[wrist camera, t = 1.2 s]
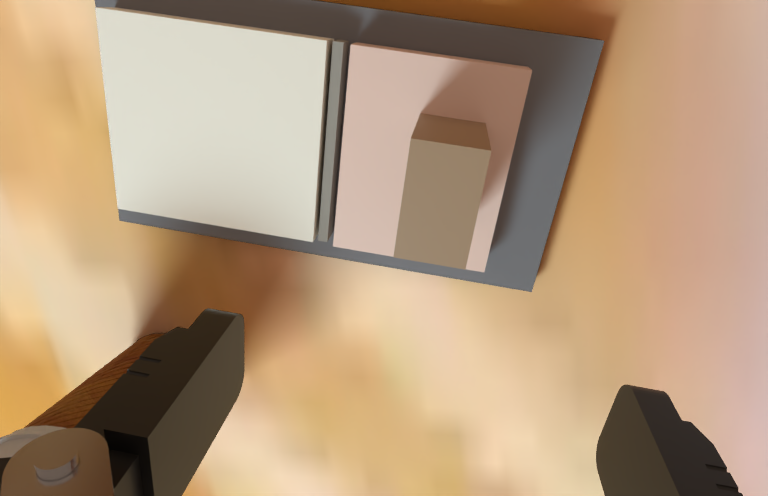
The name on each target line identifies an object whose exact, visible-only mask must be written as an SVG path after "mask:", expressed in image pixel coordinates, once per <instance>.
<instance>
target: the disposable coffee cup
mask: <svg viewBox="0 0 768 496" xmlns="http://www.w3.org/2000/svg"><path fill="white" fill-rule="evenodd" d="M162 335H164V334H151V335H148V336H145V337H143V338H141V339H139V340H138V341H137V342H136V343H134V344H133V345H132V346H130V347H129V348H128V349H126V350H125V351H124V352H122V353H121V354H119V355H118V356H117V357H116V358H114V359H113V360H112V361H111V362H109V363H108V364H106V365H105V366H104V367H103V368H101V369H100V370H98V371H97V372H96V373H94V374H93V375H92V376H91V377H89V378H88V379H87V380H85V381H84V382H83V383H82V384H81V385H79V386H78V387H77V388H75V389H74V390H73V391H71V392H70V393H69V394H67V395H66V396H65V397H64V398H62V399H61V400H60V401H58V402H57V403H56V404H54V405H53V406H52V407H51V408H49V409H48V410H46V411H45V412H44V413H43V414H41V415H40V416H39V417H37V418H36V419H35V420H34V421H32V422H31V423H29V424H28V425H27V426H26V427H25V428H23V429H20V430H17V431H15V432H13V433H12V434H10V435H6V436H3V437H1V438H0V458H6V457H12V456H13V455H14V454H15V453H16V452H17V451H18V450H20V449H21V448H22V447H23V446H25V445H26V444H28V443H29V442H31V441H32V440H34V439H36V438H38V437H40V436H42V435H45V434H47V433H50V432H53V431H57V430H61V429H67V428H74V427H75V426H76V425H77V424H78V423H79V422H80V420H81V419H82V418H83V417H84V416H85V415H86V414H87V413H88V412H89V411H90V410H91V409H92V407H93V406H94V405H95V404H96V403H97V402H98V401H99V400H100V399H101V398H102V397H103V395H104V394H105V393H106V392H107V391H108V390H109V389H110V388H111V387H112V386H113V385H114V383H115V382H116V381H117V380H118V379H119V378H120V377H121V376H122V375H123V374H126V373H127V369H128V368H129V367H130V366H131V365H132V364H133V363H134V362H135V361H136V360H137V359H138V360H139V358H140V355H141V354H142V353H143V352H144V351H145V350H146V349H147V348H148V347H149V345H150V344H151V343H152V342H153V341H154V340H155V339H157V338H159V337H160V336H162Z"/></svg>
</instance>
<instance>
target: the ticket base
mask: <svg viewBox="0 0 768 496" xmlns="http://www.w3.org/2000/svg"><path fill="white" fill-rule="evenodd" d="M95 5H96V7H95V10H96V19H97V28H98V37H99V46H100V55H101V63H102V72H103V81H104V90H105V99H106V108H107V117H108V126H109V134H110V143H111V152H112V161H113V170H114V179H115V188H116V197H117V206H118V210H119V219H120V221H125V222H130V223H136V224H142V225H148V226H154V227H159V228H165V229H171V230H177V231H182V232H188V233H194V234H200V235H206V236H211V237H217V238H223V239H229V240H234V241H240V242H246V243H252V244H258V245H263V246H269V247H275V248H281V249H286V250H292V251H298V252H304V253H310V254H315V255H321V256H327V257H333V258H338V259H344V260H350V261H356V262H362V263H367V264H373V265H379V266H385V267H390V268H396V269H402V270H408V271H414V272H419V273H425V274H431V275H437V276H442V277H448V278H454V279H460V280H466V281H471V282H477V283H483V284H489V285H494V286H500V287H506V288H512V289H517V290H523V291H529V292H532V289H533V285H534V282H535V279H536V275H537V272H538V268H539V265H540V261H541V258H542V254H543V251H544V247H545V244H546V241H547V237H548V234H549V230H550V227H551V223H552V220H553V216H554V213H555V209H556V206H557V203H558V199H559V196H560V192H561V189H562V185H563V182H564V178H565V175H566V171H567V168H568V165H569V161H570V158H571V154H572V151H573V147H574V144H575V140H576V137H577V133H578V130H579V127H580V123H581V120H582V116H583V113H584V109H585V106H586V102H587V99H588V95H589V92H590V89H591V85H592V82H593V78H594V75H595V71H596V68H597V64H598V61H599V57H600V54H601V51H602V47H603V44H604V41H603V40H598V39H591V38H584V37H577V36H570V35H562V34H555V33H548V32H541V31H533V30H526V29H519V28H512V27H505V26H497V25H490V24H483V23H476V22H469V21H461V20H454V19H447V18H440V17H432V16H425V15H418V14H411V13H404V12H396V11H389V10H382V9H375V8H368V7H360V6H353V5H346V4H339V3H331V2H324V1H317V0H95ZM356 42H359V43H366V44H373V45H380V46H387V47H394V48H401V49H408V50H415V51H422V52H429V53H436V54H443V55H449V56H456V57H463V58H470V59H477V60H484V61H491V62H498V63H505V64H512V65H519V66H526V67H529V68H530V69H531V70H532V74H531V78H530V83H529V87H528V91H527V95H526V99H525V104H524V108H523V112H522V116H521V120H520V125H519V129H518V133H517V137H516V141H515V146H514V150H513V154H512V158H511V162H510V167H509V171H508V175H507V179H506V183H505V188H504V192H503V196H502V200H501V204H500V209H499V213H498V217H497V221H496V225H495V230H494V234H493V238H492V242H491V246H490V251H489V255H488V259H487V263H486V267H485V272H479V271H473V270H467V269H465V270H464V269H459V268H453V267H447V266H441V265H435V264H429V263H424V262H418V261H412V260H406V259H400V258H395V257H391V256H386V255H380V254H374V253H368V252H362V251H356V250H351V249H345V248H339V247H333V239H334V228H335V216H336V205H337V194H338V182H339V171H340V160H341V148H342V137H343V125H344V114H345V103H346V91H347V80H348V69H349V57H350V46H351V44H353V43H356Z"/></svg>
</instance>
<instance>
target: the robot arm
mask: <svg viewBox="0 0 768 496" xmlns="http://www.w3.org/2000/svg"><path fill="white" fill-rule="evenodd" d="M243 378H244V318H243V316H242V315H241V314H236V313H231V312H225V311H220V310H214V309H205V310H204V311H203V312H202V313H201V314H200V316H199V317H198V318H197V319H196V320H195V322H194V323H193V324H192V325H191V326H190V327H189V329H186V328H180V327H176V328H175V329H173V330H171V331H169V332H168V333H166V334H164V335H162V336H160V337H159V338H157V339H155V340H154V341H153V342H152V343H151V344H150V345H149V347H148V348H147V349H146V350H145V351H144V352H143V353H142V354H141V355H140V358H139V360H138V359H137V360H136V361H135V362H134V363H133V364H132V365H131V366H130V367H129V368H128V369H127V373H126V374H123V375H122V376H121V377H120V378H119V379H118V380H117V381H116V382H115V383H114V385H113V386H112V387H111V388H110V389H109V390H108V391H107V392H106V393H105V394H104V395H103V397H102V398H101V399H100V400H99V401H98V402H97V403H96V404H95V405H94V406H93V407H92V409H91V410H90V411H89V412H88V413H87V414H86V415H85V416H84V417H83V418H82V419H81V420H80V422H79V423H78V424H77V425H76V426H75V427H74V428H67V429H61V430H57V431H53V432H50V433H47V434H45V435H42V436H40V437H38V438H36V439H34V440H32V441H31V442H29V443H28V444H26V445H25V446H23V447H22V448H21V449H20V450H18V451H17V452H16V453H15V454H14V455H13V456H12V457H6V458H0V496H182V495H183V493H184V491H185V489H186V488H187V486H188V484H189V482H190V481H191V479H192V477H193V475H194V474H195V472H196V470H197V468H198V467H199V465H200V463H201V461H202V460H203V458H204V456H205V454H206V453H207V451H208V449H209V447H210V446H211V444H212V442H213V440H214V439H215V437H216V435H217V433H218V432H219V430H220V428H221V426H222V425H223V423H224V421H225V419H226V418H227V416H228V414H229V412H230V411H231V409H232V407H233V405H234V404H235V402H236V400H237V398H238V396H239V393H240V390H241V387H242V383H243ZM596 463H597V470H598V474H599V477H600V480H601V484H602V487H603V491H604V494H605V496H743V495H742V493H739V492H738V486H737V485H736V483H735V481H734V479H733V478H732V476H731V474H730V473H728V472H727V467H726V465H725V464H724V462H723V460H722V459H721V457H720V455H719V453H718V452H717V450H716V448H715V446H714V445H713V444H712V443H711V442H710V441H709V440H708V439H707V438H706V437H705V436H704V435H703V434H702V433H701V432H700V431H699V430H698V429H697V428H696V427H695V426H694V425H693V424H692V423H691V422H687V421H682V420H681V418H680V416H679V414H678V412H677V411H676V409H675V407H674V405H673V403H672V401H671V399H670V397H669V396H668V395H667V393H665V392H664V391H659V390H653V389H648V388H642V387H636V386H631V385H623V386H622V387H621V388H620V389H619V391H618V393H617V396H616V398H615V401H614V403H613V405H612V408H611V410H610V413H609V415H608V418H607V420H606V422H605V425H604V427H603V430H602V432H601V435H600V437H599V440H598V444H597V451H596Z"/></svg>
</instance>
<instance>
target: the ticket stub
mask: <svg viewBox="0 0 768 496" xmlns="http://www.w3.org/2000/svg"><path fill="white" fill-rule="evenodd" d="M531 74H532V70H531V69H530V68H529V67H526V66H519V65H512V64H505V63H498V62H491V61H484V60H477V59H470V58H463V57H456V56H449V55H443V54H436V53H429V52H422V51H415V50H408V49H401V48H394V47H387V46H380V45H373V44H366V43H359V42H356V43H353V44H351V46H350V57H349V69H348V80H347V91H346V103H345V114H344V125H343V137H342V148H341V160H340V171H339V182H338V194H337V205H336V216H335V228H334V239H333V247H339V248H345V249H351V250H356V251H362V252H368V253H374V254H380V255H386V256H391V257H395V258H400V259H406V260H412V261H418V262H424V263H429V264H435V265H441V266H447V267H453V268H459V269H464V270H465V269H467V270H473V271H479V272H485V267H486V263H487V259H488V255H489V251H490V246H491V242H492V238H493V234H494V230H495V225H496V221H497V217H498V213H499V209H500V204H501V200H502V196H503V192H504V188H505V183H506V179H507V175H508V171H509V167H510V162H511V158H512V154H513V150H514V146H515V141H516V137H517V133H518V129H519V125H520V120H521V116H522V112H523V108H524V104H525V99H526V95H527V91H528V87H529V83H530V78H531Z"/></svg>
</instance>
